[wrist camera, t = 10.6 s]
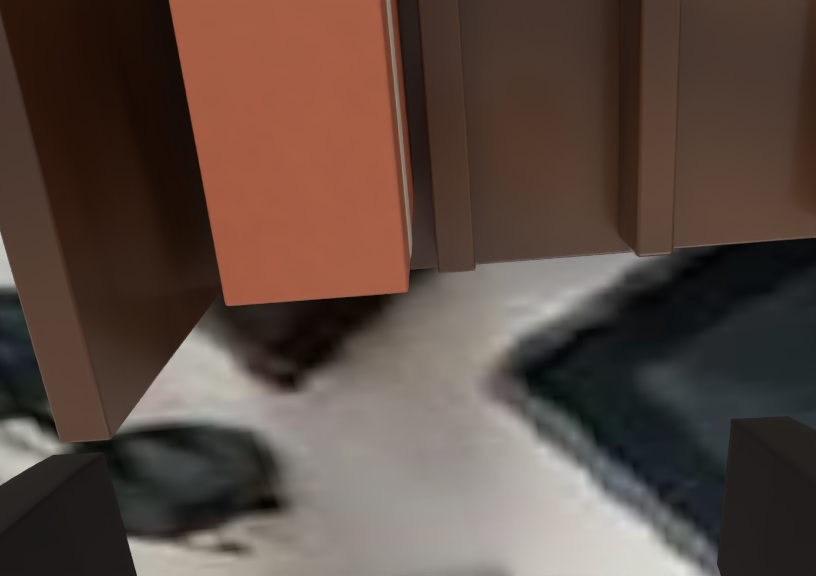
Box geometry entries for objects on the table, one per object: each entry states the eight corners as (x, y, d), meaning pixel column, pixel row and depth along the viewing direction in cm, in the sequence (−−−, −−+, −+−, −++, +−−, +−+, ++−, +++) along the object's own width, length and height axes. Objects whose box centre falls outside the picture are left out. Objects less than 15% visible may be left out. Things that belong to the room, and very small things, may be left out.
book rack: (894, 219, 18) (1236, 363, 10) (205, 274, 19) (59, 444, 11) (962, -274, 15) (1540, -588, 7) (117, -180, 15) (-175, -372, 8)
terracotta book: (415, 187, 17) (410, 295, 10) (300, 197, 17) (223, 309, 10) (389, -109, 15) (362, -211, 8) (260, -96, 15) (130, -186, 8)
